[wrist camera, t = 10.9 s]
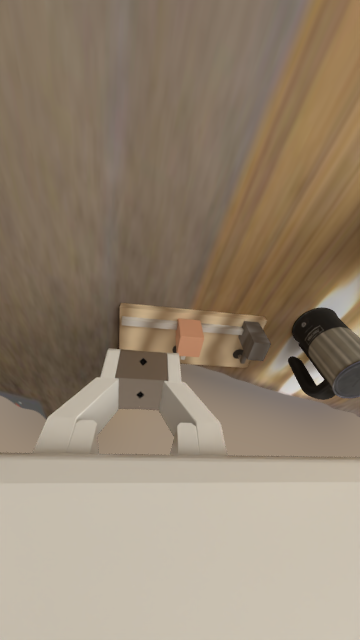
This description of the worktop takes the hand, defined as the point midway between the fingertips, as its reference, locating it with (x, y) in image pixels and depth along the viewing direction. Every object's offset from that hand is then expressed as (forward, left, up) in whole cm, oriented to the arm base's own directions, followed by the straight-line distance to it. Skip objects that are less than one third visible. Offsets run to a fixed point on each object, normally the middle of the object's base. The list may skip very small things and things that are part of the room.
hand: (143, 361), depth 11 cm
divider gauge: (-9, +23, -31) cm, 40 cm away
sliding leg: (-8, +21, -29) cm, 37 cm away
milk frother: (-38, +20, -31) cm, 53 cm away
